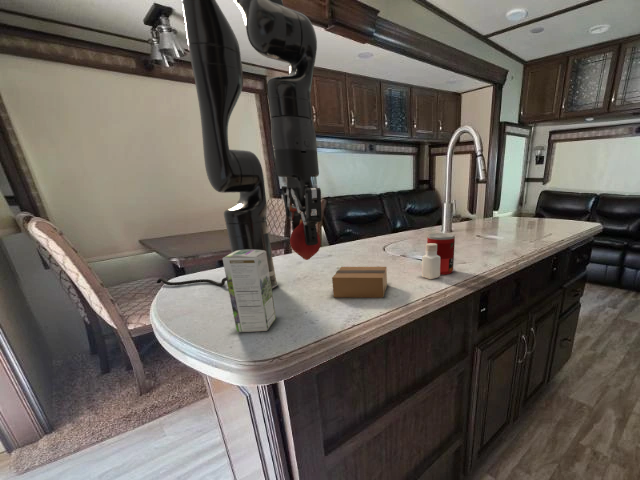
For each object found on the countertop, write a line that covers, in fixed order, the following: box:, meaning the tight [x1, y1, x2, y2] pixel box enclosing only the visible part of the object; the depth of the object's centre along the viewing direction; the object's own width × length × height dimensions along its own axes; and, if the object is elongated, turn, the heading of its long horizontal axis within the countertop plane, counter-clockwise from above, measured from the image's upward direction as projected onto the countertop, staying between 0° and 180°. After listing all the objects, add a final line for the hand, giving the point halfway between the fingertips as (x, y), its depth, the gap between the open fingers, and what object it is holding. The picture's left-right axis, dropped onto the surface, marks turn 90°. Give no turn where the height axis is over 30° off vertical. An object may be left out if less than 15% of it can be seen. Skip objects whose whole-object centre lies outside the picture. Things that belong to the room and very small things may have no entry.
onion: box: [289, 219, 322, 261], centre depth 62 cm, size 6×6×8 cm
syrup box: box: [222, 250, 277, 333], centre depth 59 cm, size 6×6×14 cm
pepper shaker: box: [421, 243, 441, 280], centre depth 89 cm, size 4×4×10 cm
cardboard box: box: [331, 266, 388, 299], centre depth 79 cm, size 12×10×5 cm
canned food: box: [426, 232, 456, 276], centre depth 94 cm, size 8×8×11 cm
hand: (305, 241), depth 63 cm, fingers closed on onion, 6 cm apart
